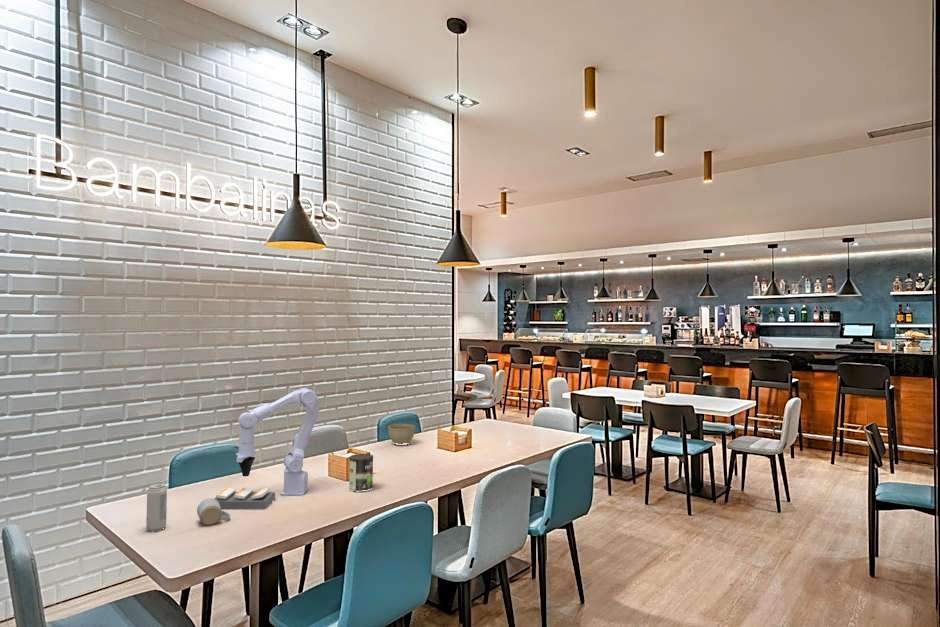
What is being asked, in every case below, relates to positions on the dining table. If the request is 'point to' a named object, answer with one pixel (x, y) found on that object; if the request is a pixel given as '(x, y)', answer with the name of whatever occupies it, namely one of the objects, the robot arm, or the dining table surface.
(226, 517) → the ceramic mug
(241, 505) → the switch panel
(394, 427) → the planter bowl
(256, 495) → the rocker
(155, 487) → the energy drink can
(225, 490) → the rocker
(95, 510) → the dining table surface
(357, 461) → the coffee can
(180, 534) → the dining table surface
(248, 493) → the rocker middle
